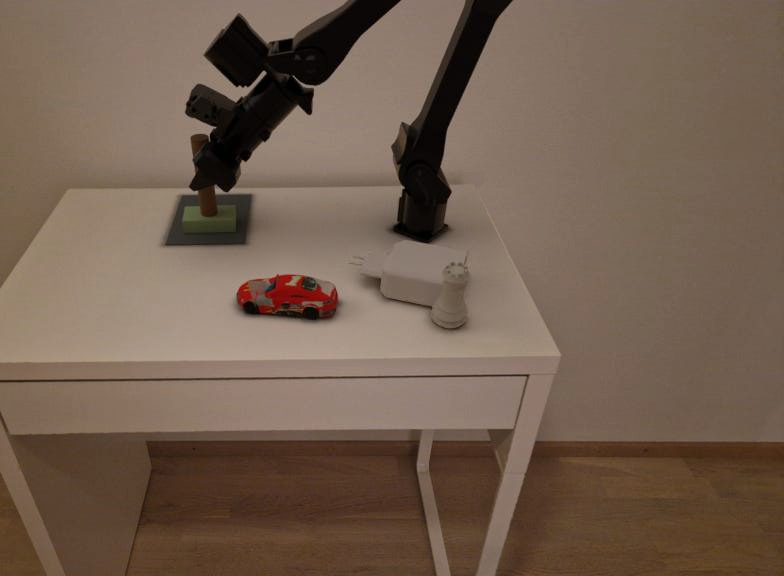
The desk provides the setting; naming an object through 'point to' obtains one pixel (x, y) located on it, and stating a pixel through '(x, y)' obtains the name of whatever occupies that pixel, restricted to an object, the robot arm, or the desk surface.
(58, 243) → the desk surface
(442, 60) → the robot arm
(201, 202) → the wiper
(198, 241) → the mat
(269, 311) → the race car
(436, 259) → the charger
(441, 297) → the rook chess piece
